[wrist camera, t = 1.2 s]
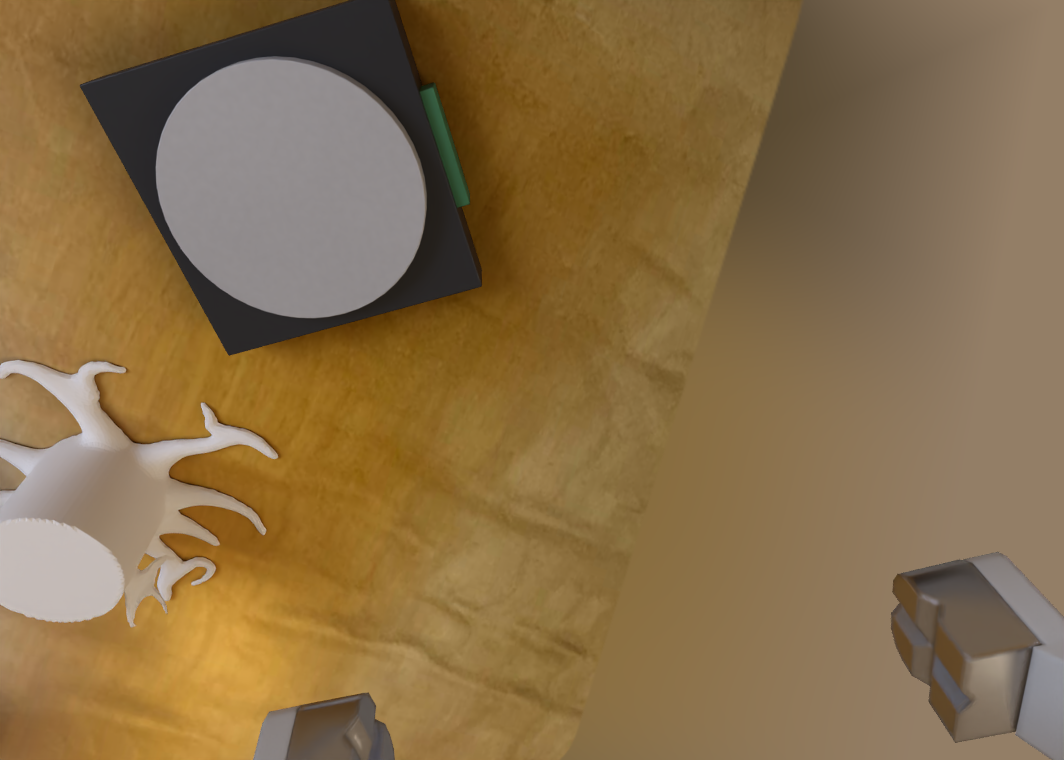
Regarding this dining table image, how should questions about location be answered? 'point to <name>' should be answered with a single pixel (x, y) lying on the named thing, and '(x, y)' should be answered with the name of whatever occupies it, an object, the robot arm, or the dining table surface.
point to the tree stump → (101, 508)
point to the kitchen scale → (297, 172)
